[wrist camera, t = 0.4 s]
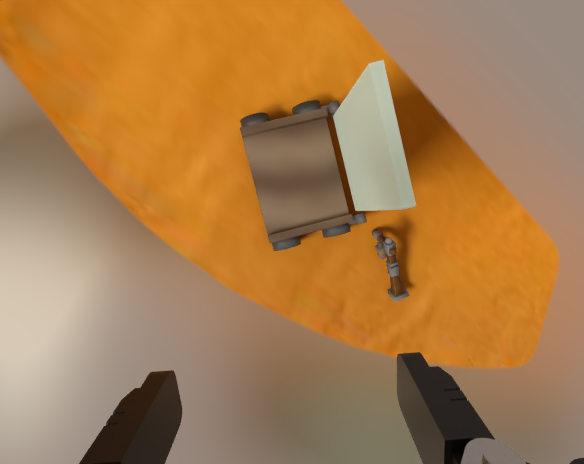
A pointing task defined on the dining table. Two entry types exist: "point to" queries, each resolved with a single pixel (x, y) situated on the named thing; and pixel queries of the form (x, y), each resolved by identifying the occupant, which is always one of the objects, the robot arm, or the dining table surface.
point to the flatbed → (297, 174)
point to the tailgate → (373, 144)
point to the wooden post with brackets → (390, 264)
